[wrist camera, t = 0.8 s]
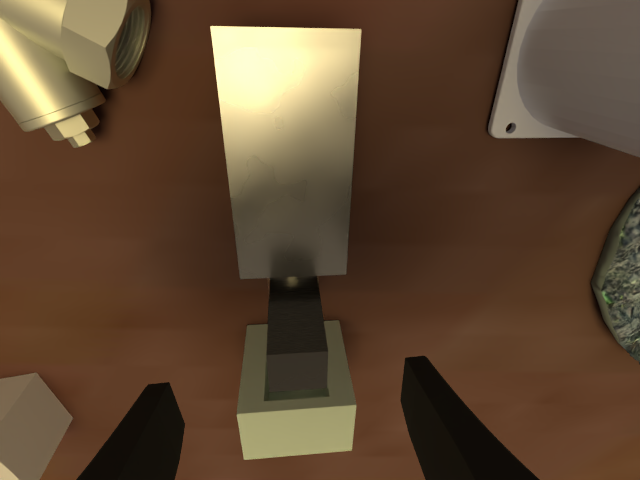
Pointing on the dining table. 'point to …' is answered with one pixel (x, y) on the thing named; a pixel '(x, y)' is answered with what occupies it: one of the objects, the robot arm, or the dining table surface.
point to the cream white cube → (29, 426)
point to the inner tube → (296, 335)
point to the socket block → (294, 404)
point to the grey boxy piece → (288, 145)
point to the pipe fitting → (67, 60)
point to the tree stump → (621, 278)
